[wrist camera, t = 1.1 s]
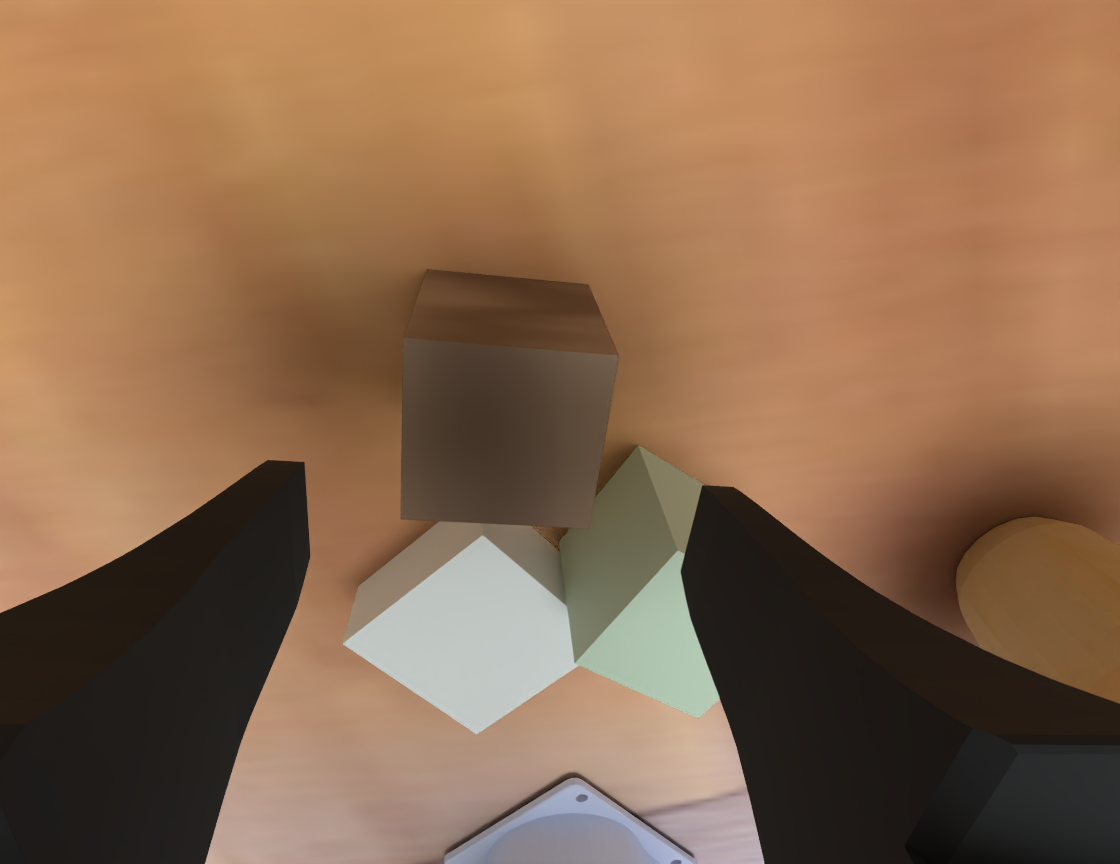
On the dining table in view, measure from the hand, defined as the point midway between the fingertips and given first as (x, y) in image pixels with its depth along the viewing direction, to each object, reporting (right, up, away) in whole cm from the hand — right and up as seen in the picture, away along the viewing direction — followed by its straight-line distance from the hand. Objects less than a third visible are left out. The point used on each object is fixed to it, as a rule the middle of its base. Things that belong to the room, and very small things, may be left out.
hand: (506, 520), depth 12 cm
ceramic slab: (-2, -4, +12) cm, 13 cm away
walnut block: (-1, +4, +8) cm, 9 cm away
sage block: (+4, -2, +11) cm, 12 cm away
